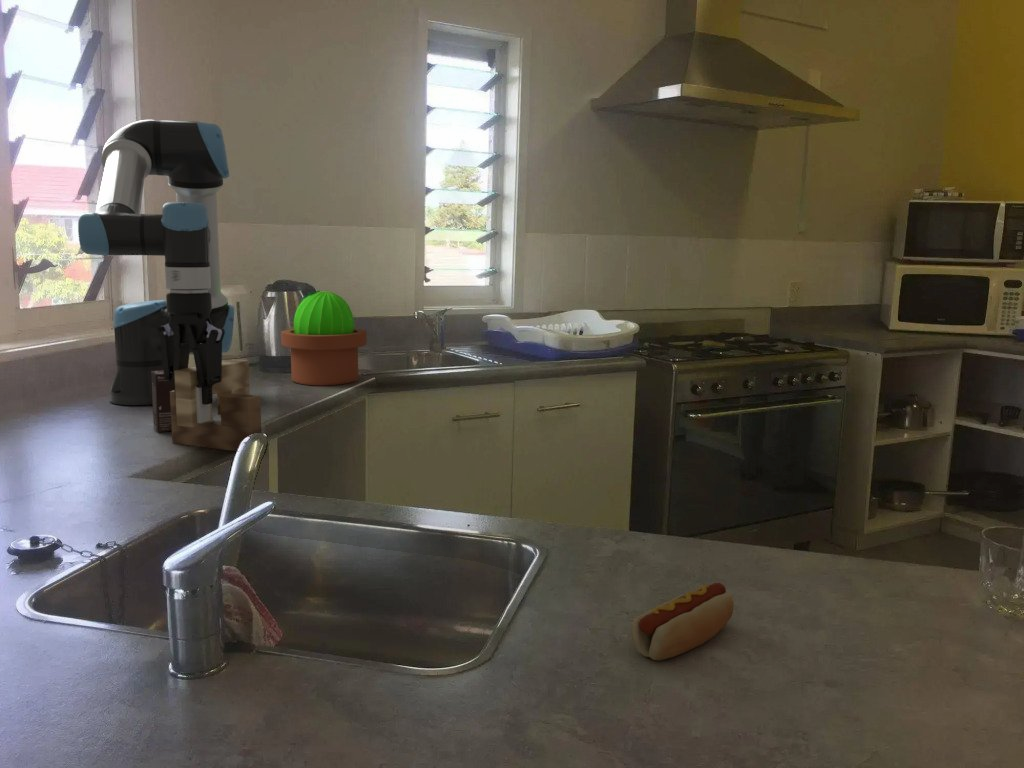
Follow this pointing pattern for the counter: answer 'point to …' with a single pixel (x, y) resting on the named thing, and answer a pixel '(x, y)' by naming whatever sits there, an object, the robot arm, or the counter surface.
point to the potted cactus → (324, 341)
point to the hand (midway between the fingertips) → (194, 420)
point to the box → (161, 401)
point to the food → (682, 622)
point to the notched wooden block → (221, 423)
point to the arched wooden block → (232, 382)
